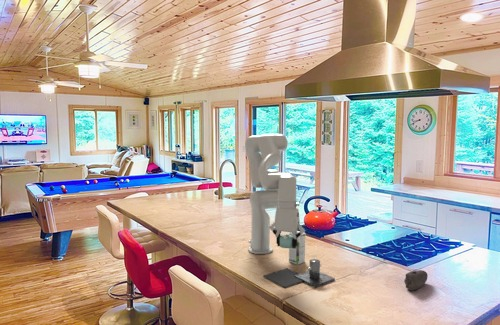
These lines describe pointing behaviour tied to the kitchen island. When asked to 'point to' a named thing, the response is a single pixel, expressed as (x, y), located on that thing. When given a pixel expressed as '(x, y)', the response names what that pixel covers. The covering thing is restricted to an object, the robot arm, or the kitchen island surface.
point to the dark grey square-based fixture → (314, 275)
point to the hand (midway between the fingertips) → (286, 246)
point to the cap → (286, 241)
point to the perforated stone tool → (415, 279)
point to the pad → (283, 277)
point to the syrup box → (298, 250)
